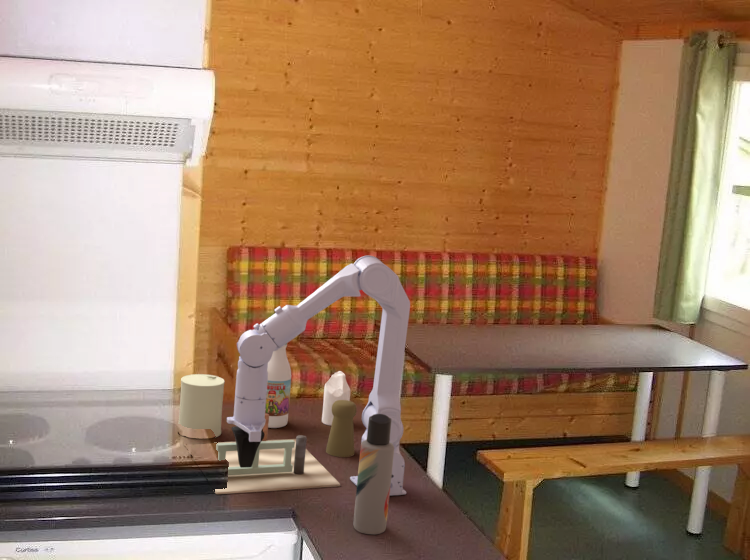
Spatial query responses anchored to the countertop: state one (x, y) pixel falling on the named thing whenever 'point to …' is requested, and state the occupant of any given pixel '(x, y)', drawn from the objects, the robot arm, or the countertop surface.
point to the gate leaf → (255, 467)
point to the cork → (342, 429)
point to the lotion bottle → (374, 477)
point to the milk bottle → (278, 388)
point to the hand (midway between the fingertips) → (245, 466)
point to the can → (201, 402)
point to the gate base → (301, 477)
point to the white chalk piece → (334, 395)
